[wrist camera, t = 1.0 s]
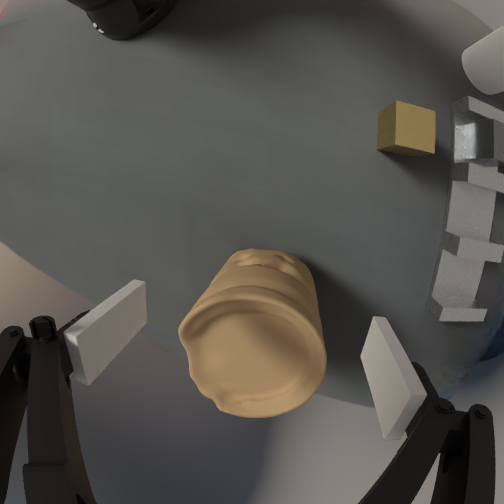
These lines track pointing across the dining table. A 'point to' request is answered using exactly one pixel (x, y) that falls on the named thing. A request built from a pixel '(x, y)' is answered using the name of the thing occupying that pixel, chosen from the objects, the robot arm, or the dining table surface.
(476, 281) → the white slotted rack
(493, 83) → the cup
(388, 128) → the tan wooden cube
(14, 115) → the dining table surface
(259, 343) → the container
